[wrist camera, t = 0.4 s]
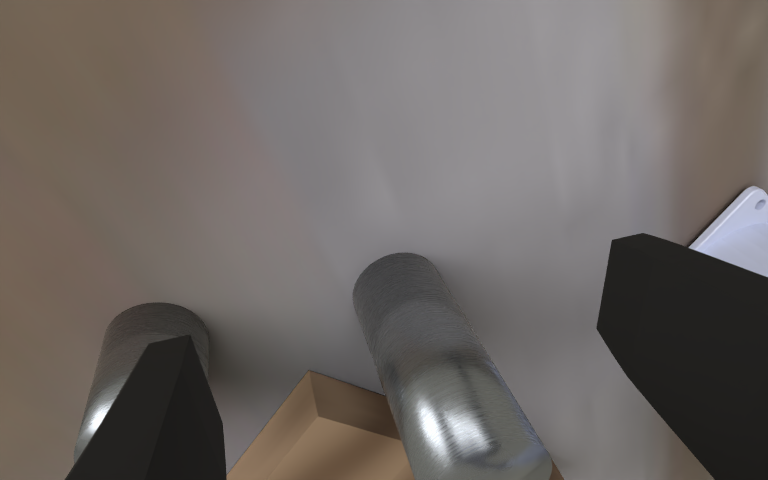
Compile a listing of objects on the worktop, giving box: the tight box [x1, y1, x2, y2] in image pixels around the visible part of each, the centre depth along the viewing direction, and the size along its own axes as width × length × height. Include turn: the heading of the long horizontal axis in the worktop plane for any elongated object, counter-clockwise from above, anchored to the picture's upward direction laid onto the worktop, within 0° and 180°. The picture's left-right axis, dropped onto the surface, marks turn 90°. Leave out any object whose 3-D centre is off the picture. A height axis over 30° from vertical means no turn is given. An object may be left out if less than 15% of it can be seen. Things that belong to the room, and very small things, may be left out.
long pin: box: [353, 253, 552, 480], centre depth 18 cm, size 4×4×9 cm
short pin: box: [74, 303, 209, 463], centre depth 18 cm, size 4×4×5 cm
